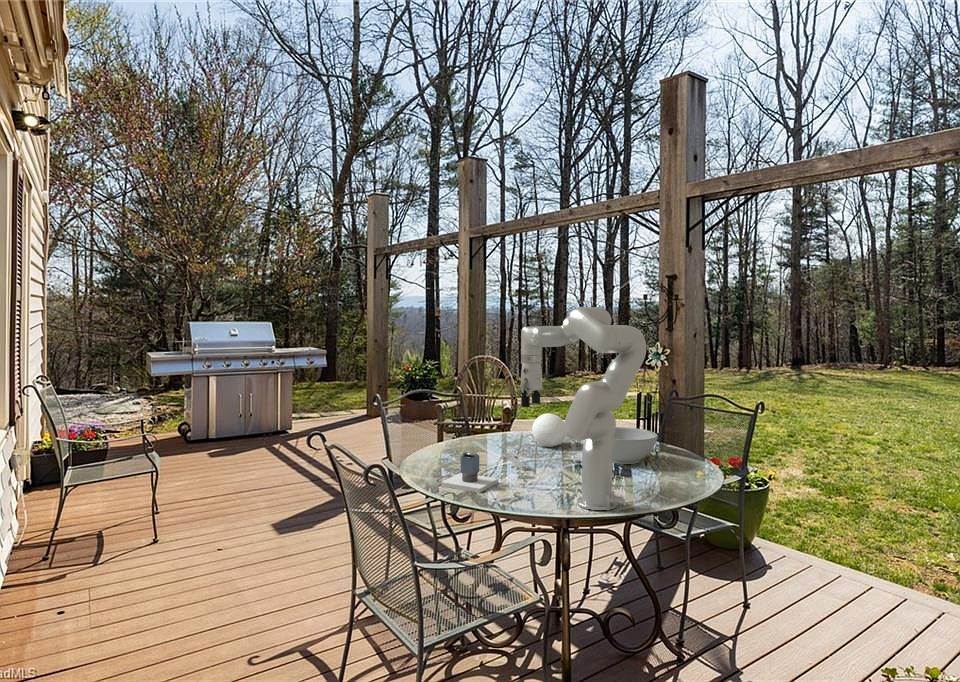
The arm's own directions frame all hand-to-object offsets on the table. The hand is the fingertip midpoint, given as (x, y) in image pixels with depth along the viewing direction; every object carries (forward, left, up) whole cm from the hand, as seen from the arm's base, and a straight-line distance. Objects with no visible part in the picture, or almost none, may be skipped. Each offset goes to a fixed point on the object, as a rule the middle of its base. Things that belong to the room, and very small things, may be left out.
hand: (530, 405), depth 204 cm
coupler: (+17, +16, -24) cm, 33 cm away
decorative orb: (+15, -56, -28) cm, 65 cm away
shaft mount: (+17, +16, -28) cm, 37 cm away
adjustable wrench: (+16, -20, -29) cm, 39 cm away
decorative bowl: (-24, -46, -28) cm, 59 cm away
